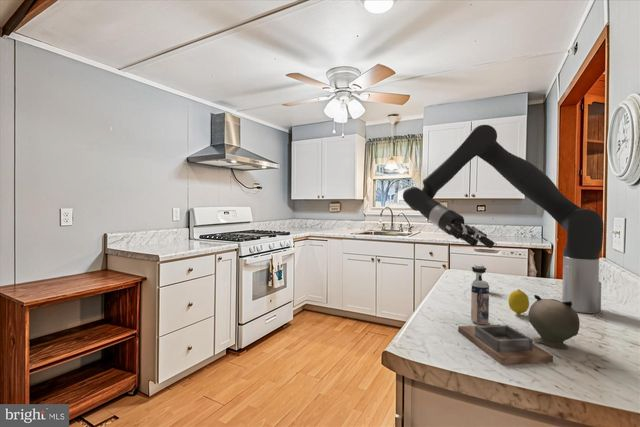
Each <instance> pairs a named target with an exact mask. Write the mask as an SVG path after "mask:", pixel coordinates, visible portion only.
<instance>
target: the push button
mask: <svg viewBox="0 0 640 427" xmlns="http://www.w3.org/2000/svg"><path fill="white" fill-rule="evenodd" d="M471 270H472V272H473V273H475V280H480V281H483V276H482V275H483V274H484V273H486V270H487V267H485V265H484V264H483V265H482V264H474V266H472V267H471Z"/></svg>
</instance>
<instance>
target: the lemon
mask: <svg viewBox="0 0 640 427" xmlns="http://www.w3.org/2000/svg"><path fill="white" fill-rule="evenodd" d="M529 300H530V299H529V296H528V295H527V294H526V293H525V292H524V291H522V290H521V289H519V288H518V289H517V290H513V291H512V292H511V293H510V294H509V296H508V306H509V308H510V309H511V311H513V312H514V313H516V314H517V315H518V316H519V315H521V314H524V313H526V312H527V311H529V310H528V309H529V308H530V307H529V306H530V301H529Z"/></svg>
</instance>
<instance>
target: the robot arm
mask: <svg viewBox="0 0 640 427" xmlns="http://www.w3.org/2000/svg"><path fill="white" fill-rule="evenodd" d="M497 139H498V132H497V130H496V128H494V127H493V126H491V125H490V124H480V125H478V126H476V127H474V128H473V129H472V130H471V131H470V133H469V134H468V135H467V137H466V138H465V139H464V141H462V143H461V144H460V145H459V146H458V147H457V148H456V149H455V150H454V151H453V152H451V154H450V155H449V156H447V157H446V159H445V160H443V161H442V162H441V163H440V164H439V165H437V166H436V167H435V168H434V169H433V170H432V171H431V172H429V173H428V174H427V175H426V176H425V177H424V178H423V180H422V184H423V187H422V189H421V188H419V187H417V186H409V187H407V188H405V189H404V190H403V193H402V199H403V201H404V202H405V203H406V205H407V206H408V207H409V208H410V209H411V210H413V211H416V212H419V213H420V214H421V215H422V216H423V217H424V218H426V219H427V220H429V221H430V222H431V223H432V224H433V225H435V226H436V227H437V228H439V229H440V230H441V231H442V232H444V233H446V234H447V235H448V236H452V237H454V239H456V240H459V239H460V240H461V241H463V242H466V243H467V244H469V245H470V246H471V247H474V248H475V247H476V246H477V245H478V243H481V244H483V245H484V246H486V247H487V248H489V249H492V248H493V247H494V245H495V242H494V241H493V240H491V239H490V238H488V234H486V233H485V232H483V231H481V230H480V229H478V228H476V227H475V226H473V225H472V226H471V225H469V224H466V223H465V218H464V216H463V215H461V214H459V213H457V212H456V211H455V210H453V209H452V208H450V207H449V206H446V205H444V204H442V203H440V202H439V201H437V200H435V199H434V197H435V196H436V194H437V193H438V192H439V190H441V189H442V188H443V187H444V186H445V185H447V184H448V183H449V182H450V181H451V180H452V179H453V178H455V176H456V175H457V174H458V173H459V171H461V170H462V169H463V167H465V166H466V165H467V164H468V163H469V162H471V160H473V159H474V158H475V157H478V158H479V159H481V160H483V161H484V162H485V163H487V164H489V165H490V166H491V167H493V168H494V169H495V171H496V172H498V173H499V175H501V176H502V177H503V178H504V179H505V180H506V181H508V182H509V184H511V185H512V186H513V187H514V188H515V189H516V190H518V191H519V192H520V193H521V194H523V195H524V196H525V197H526V198H528V199H529V200H530V201H531V202H533V203H534V204H536V205H537V206H538V207H540V208H542V209H543V210H544V211H545V212H547V214H548V215H550V216H551V217H552V218H553V219H554V220H555V221H556V223H557V224H558V225H560V227H561V228H562V229H563V230H564V231H565V232H566V244H565V245H564V248H563V251H562V252H563V253H562V257H563V258H562V289H561V290H562V295H561V296H562V298H561V302H565V301H567V302H569V301H571V303H572V306H571V307H572V308H573V309H574V310H575V311H576V312H577V313H584V314H597V313H598V312H602V309H601V308H602V281H600V280H599V279H600V276H599V275H600V254H601V252H602V251H603V250H602V249H603V243H604V242H603V240H604V220H603V218H602V216H601V215H600V214H599V213H598V212H597V211H595V210H592V209H589V208H588V209H587V208H583V207H581V206H579V205H577V204H575V203H574V202H573V201H572V200H570V199H569V198H567V197H566V196H565V195H564V194H563V193H562V192H561V191H560V190H559V188H558V187H557V186H556V184H555V183H554V182H553V180H552V179H551V178H550V176H548V175H546V173H545V172H543V171H542V170H541V169H539V168H538V167H537V166H536V165H534V163H532V162H530V161H528V160H526V159H524V158H522V157H520V156H518V155H515V154H513V153H511V152H509V151H508V150H507V149H505V148H504V147H503V145H501V144H500V143H499V142H498V141H497Z"/></svg>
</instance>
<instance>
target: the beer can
mask: <svg viewBox="0 0 640 427" xmlns="http://www.w3.org/2000/svg"><path fill="white" fill-rule="evenodd" d="M470 285H471V297H470V298H471V304H470V321H471V322H473V323H474V324H475V325H488V324H489V316H490V313H489V312H490V311H489V310H490V285H489V283H488V282H487V281H485V280H482V281H480V280H476V279H475V280H473V281H472V283H471V284H470Z"/></svg>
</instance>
